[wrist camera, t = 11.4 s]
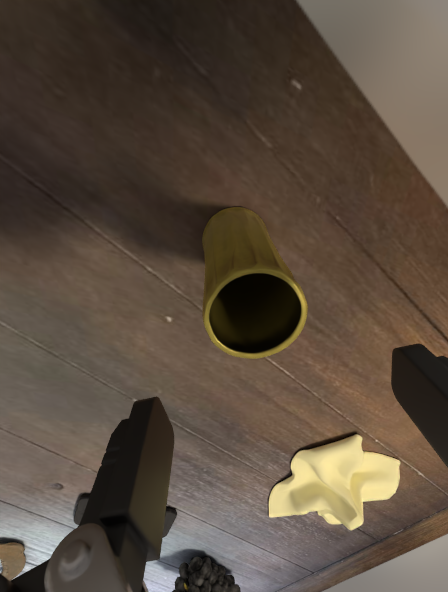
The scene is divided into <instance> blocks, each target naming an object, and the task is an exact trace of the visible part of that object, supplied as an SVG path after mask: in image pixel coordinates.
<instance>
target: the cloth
mask: <svg viewBox="0 0 448 592" xmlns="http://www.w3.org/2000/svg"><path fill="white" fill-rule="evenodd" d="M362 439H363V438H362V437H361V436H360V435H357V434H355V435H354V436H351V437H348V438H345V439H343V440H340V441H337V442H333V443H330V444H327V445H323V446H320V447H316V448H312V449H309V450H302V451H299V452H298V453H297V454H296V455H295V456H294V458H293V459H292V462H291V470H292V476H291V477H289V478H287V479H285V480H284V481H282V482H280V483H278V484H276V485H275V486H274V488H273V489H272V491H271V494H270V497H269V517H281V516H290V515H294V514H295V515H304V514H306V513H308V511H309V512H312V511H317V513H318V515H319V516H323V518H324V519H325V520H326V522H327V523H329V524H343V525H344V526H346V527H347V528H348V529H349V530H350V531H351V530H353V529H355V528H357V527H359V526H361V525H362V523H363V502H365V501H372V500H385V499H389V498H390V497H391V496H392V495H393V494H394V493H395V492H396V490H397V487H398V485H399V480H400V473H399V465H400V463H401V462H400V461H399V460H397V459H395V458H392V457H389V456H386V455H383V454H379V453H374V452H367V451H363V450H362V447H361V443H362Z"/></svg>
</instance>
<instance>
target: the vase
mask: <svg viewBox="0 0 448 592" xmlns="http://www.w3.org/2000/svg"><path fill="white" fill-rule="evenodd" d="M202 244H203V249H204V254H205V283H204V298H203V322H204V325H205V328H206V330H207V333H208V335H209V337H210V339H211V340H212V342H213V343H214V344H215V345H216V346H217V347H218V348H219V349H221V350H222V351H224V352H226V353H228V354H230V355H232V356H236V357H242V358H262V357H266V356H269V355H272V354H275V353H277V352H280V351H281V350H283V349H284V348H286V347H288V346H289V345H290V344H291V343H292V342H293V341H294V340H295V339H296V338H297V337H298V335H299V334H300V332H301V331H302V329H303V327H304V325H305V321H306V318H307V310H308V306H307V301H306V299H305V296H304V293H303V291H302V289H301V287H300V285H299V284H298V283H297V282H296V281H295V279H294V278H293V275H292V273H291V271H290V270H289V268H288V267H287V266H286V264H285V263H284V261H283V260H282V258H281V257H280V255H279V253H278V251H277V249H276V248H275V246H274V244H273V243H272V241H271V238H270V236H269V234H268V232H267V229H266V226H265V224H264V222H263V220H262V219H261V218H260V217H259V216H258V215H257V214H256V213H254V212H253V211H251V210H249V209H246V208H241V207H232V208H227V209H224V210H222V211H220V212H218V213H217V214H215V215H214V216H213V217H212V218H211V219H210V220H209V222H208V223H207V225H206V227H205V229H204V232H203V238H202Z"/></svg>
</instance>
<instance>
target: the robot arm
mask: <svg viewBox="0 0 448 592" xmlns="http://www.w3.org/2000/svg"><path fill="white" fill-rule="evenodd" d="M391 385H392V389H393V392H394V395H395V397H396V399H397V401H398V402H399V403H400V405H401V406H402V407H403V409H404V410H405V411H406V413H407V414H408V415H409V417H410V418H411V419H412V421H413V422H414V423H415V425H416V426H417V427H418V429H419V430H420V431H421V433H422V434H423V435H424V437H425V438H426V439H427V441H428V442H429V443H430V445H431V446H432V447H433V449H434V450H435V451H436V453H437V454H438V455H439V457H440V458H441V459H442V461H443V462H444V463H445V465H446V466H447V467H448V358H447V357H444V356H440V357H436V356H435V355H434V354H432V353H431V352H430V351H429V350H428V349H427V348H426V347H425V346H423V345H422V344H413V345H409V346H404V347H399V348H395V349H394V350H393V352H392V376H391ZM173 449H174V432H173V428H172V425H171V423H170V421H169V418H168V416H167V414H166V412H165V409H164V407H163V405H162V403H161V401H160V399H159V398H158V397H153V398H148V399H143V400H138V401H135V403H134V404H133V407H132V411H131V414H130V417H129V419H124V420H122V421H121V422H120V423H119V425H118V426H117V428H116V429H115V430H114V432H113V433H112V434H111V437H110V440H109V443H108V446H107V449H106V453H105V454H104V457H103V460H102V463H101V464H102V466H101V467H100V468H99V471H98V474H97V477H96V480H95V483H94V485H93V488H92V491H91V494H90V497H89V499H88V502H87V505H86V508H85V511H84V514H83V516H82V519H81V522H80V524H79V526H78V528H76V529H74V530H73V531H72V532H70V533H69V534H68V535H67V536H66V537H65V538H64V539H63V540H62V541H61V542H60V544H59V545H58V546H57V548H56V549H55V551H54V552H53V554H52V556H51V558H50V559H49V560H47V561H45V562H44V563H42V564H40V565H38V566H37V567H35V568H33V569H31V570H29V571H27V572H26V573H24V574H22V575H20V576H18V577H17V578H15V579H13V580H11V581H9V580H8V579H7V578H6V577H4V576H3V575H1V574H0V592H148V589H147V587H146V585H145V582H144V581H143V577H144V571H145V565H146V562H147V561H153V560H159V559H160V552H161V544H162V536H163V528H164V520H165V512H166V504H167V496H168V488H169V481H170V473H171V465H172V457H173Z"/></svg>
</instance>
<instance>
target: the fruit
mask: <svg viewBox="0 0 448 592" xmlns="http://www.w3.org/2000/svg"><path fill="white" fill-rule="evenodd" d="M179 573H180V577H178V578H177V579H176V581H175V590H173V591H172V592H240V587H239V586H238V585H237V584H235V580H234V577H233V576H232V575H225V573H226V572H225V569H224V567H223V566H217V565H216V564H215V563H214V564H212V563H211V560H210V559H209V558H208V557H204V558H203V559H202V560H201V558H200V557H194V558H192V560H191V562H190V564H189V565H188V563H186V562H183V563H182V564H181V565H180V567H179Z"/></svg>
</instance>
